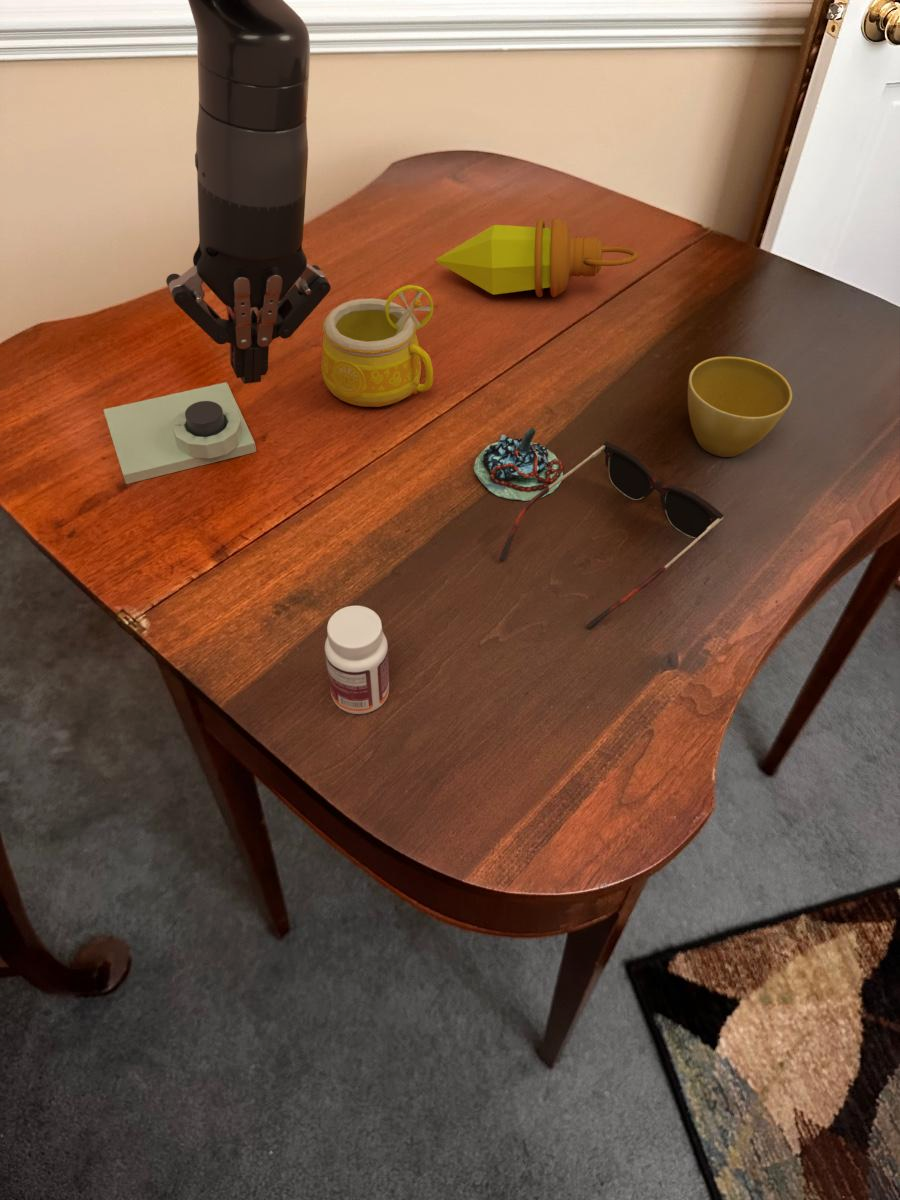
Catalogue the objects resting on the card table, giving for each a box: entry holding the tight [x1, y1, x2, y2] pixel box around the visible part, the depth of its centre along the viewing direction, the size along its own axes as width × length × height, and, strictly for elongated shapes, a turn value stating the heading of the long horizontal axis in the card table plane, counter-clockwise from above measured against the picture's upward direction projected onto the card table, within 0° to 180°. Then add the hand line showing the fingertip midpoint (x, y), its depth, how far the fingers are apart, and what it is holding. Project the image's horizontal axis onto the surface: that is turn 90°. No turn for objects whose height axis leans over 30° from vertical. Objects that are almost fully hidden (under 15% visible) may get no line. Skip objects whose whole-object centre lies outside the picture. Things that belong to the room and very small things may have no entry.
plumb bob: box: [434, 216, 639, 298], centre depth 107 cm, size 9×9×25 cm
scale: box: [102, 381, 257, 485], centre depth 88 cm, size 13×12×3 cm
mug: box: [321, 284, 435, 408], centre depth 91 cm, size 13×11×12 cm
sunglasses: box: [499, 441, 725, 630], centre depth 79 cm, size 14×16×5 cm
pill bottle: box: [324, 605, 390, 715], centre depth 67 cm, size 5×5×8 cm
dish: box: [473, 427, 564, 502], centre depth 87 cm, size 8×7×8 cm
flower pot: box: [687, 356, 793, 458], centre depth 89 cm, size 10×10×7 cm
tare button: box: [185, 401, 225, 437], centre depth 86 cm, size 4×4×2 cm
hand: (249, 377), depth 74 cm, fingers closed
